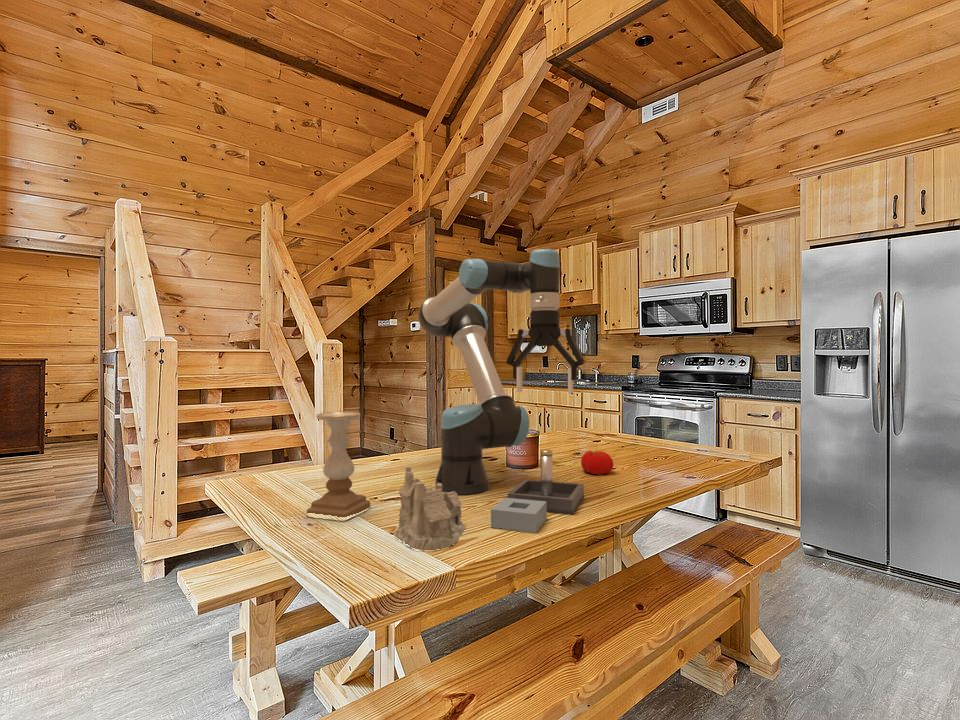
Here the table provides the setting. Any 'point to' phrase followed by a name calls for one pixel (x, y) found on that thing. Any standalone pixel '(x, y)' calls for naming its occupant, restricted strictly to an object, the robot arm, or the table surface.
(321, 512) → the candle holder
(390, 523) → the table surface
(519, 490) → the tray
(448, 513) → the ceramic cottage
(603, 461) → the tomato
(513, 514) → the pin block
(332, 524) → the table surface
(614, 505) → the table surface
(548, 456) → the pin
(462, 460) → the robot arm
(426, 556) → the table surface
